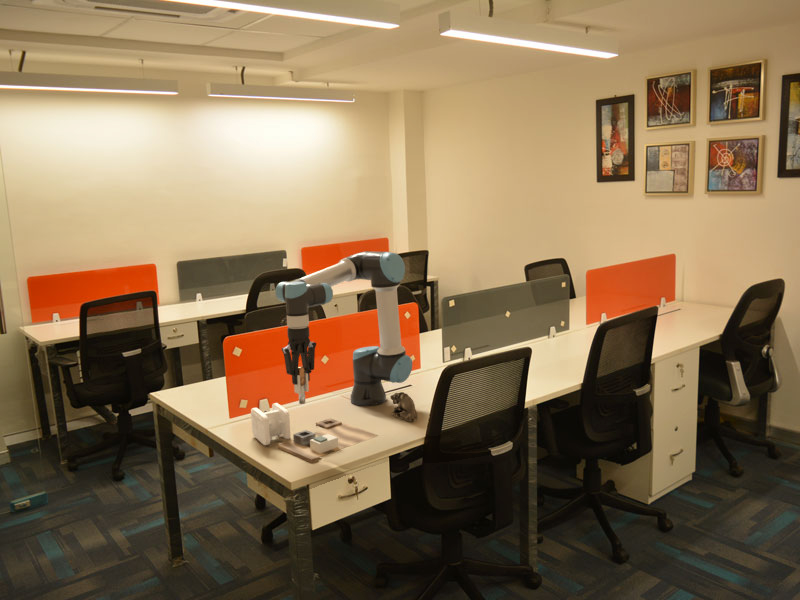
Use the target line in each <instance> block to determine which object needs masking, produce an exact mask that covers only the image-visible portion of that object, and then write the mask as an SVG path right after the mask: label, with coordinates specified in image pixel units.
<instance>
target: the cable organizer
mask: <svg viewBox="0 0 800 600" xmlns="http://www.w3.org/2000/svg"><path fill="white" fill-rule="evenodd" d="M271 407H272V408H271V410H270V411H265V412H263V411H262V410H261V409H259V408H258V407H252V408H251V409H250V416H251V418H250V419H251V431H252V434H253V436H254V438H256V439H257V440H258V442H260V443H261V445H263V446H269V445H270V444H271V442H272V441H273V437H275V436H278V437H279V439H281V438H284V439H285V440H290V439H291V435H292V434H291V423H290V413H289V411H288V410H287V409H286V407H284V406H282V405H281V404H279V403H278V402H275V403H272V405H271Z"/></svg>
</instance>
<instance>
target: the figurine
mask: <svg viewBox="0 0 800 600" xmlns="http://www.w3.org/2000/svg"><path fill="white" fill-rule="evenodd" d="M390 400H392V404H393V405H397V406H396V407H395V408H394V410H393V411H392V412H391V416H392V417H396V418H399V419H401V420H404V421H406V422H416V420H418V412H417V410H416V405H415V402H414V399H413V398H412V397H411V396H409V395H408V393H405V392H403V391H402V392H401V391H400V392H395V393H393V394H391V395H390ZM400 413H401V414H400Z"/></svg>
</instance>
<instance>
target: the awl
mask: <svg viewBox="0 0 800 600" xmlns="http://www.w3.org/2000/svg"><path fill="white" fill-rule="evenodd" d="M298 375H300V387H301V394H298V403H299V404H300V405H304V404H306V391H305V385H304V384H305V370H304V367H303V365H302V366H298Z"/></svg>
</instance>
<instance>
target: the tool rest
mask: <svg viewBox="0 0 800 600" xmlns="http://www.w3.org/2000/svg"><path fill="white" fill-rule="evenodd" d="M341 424H343V422H342V421H339V420H336V419H333V418H331V417H330V418H327V419H324V420H320V421H317V422H316V423H315V427H321V428H323V429H329V428H332V427H335V426H338V425H341Z"/></svg>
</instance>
